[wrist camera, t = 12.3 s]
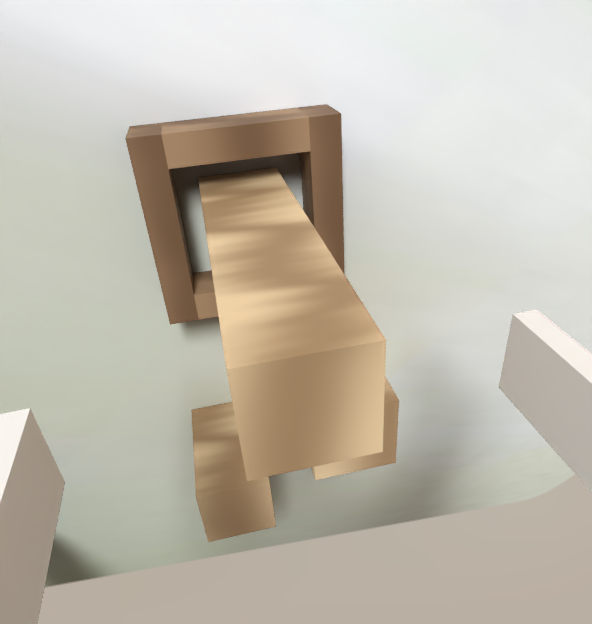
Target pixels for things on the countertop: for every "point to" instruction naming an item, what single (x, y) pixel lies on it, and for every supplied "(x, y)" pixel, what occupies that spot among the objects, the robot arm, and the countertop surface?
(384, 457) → the medium pin
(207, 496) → the short pin
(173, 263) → the collar block
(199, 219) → the countertop surface
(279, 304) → the long pin
